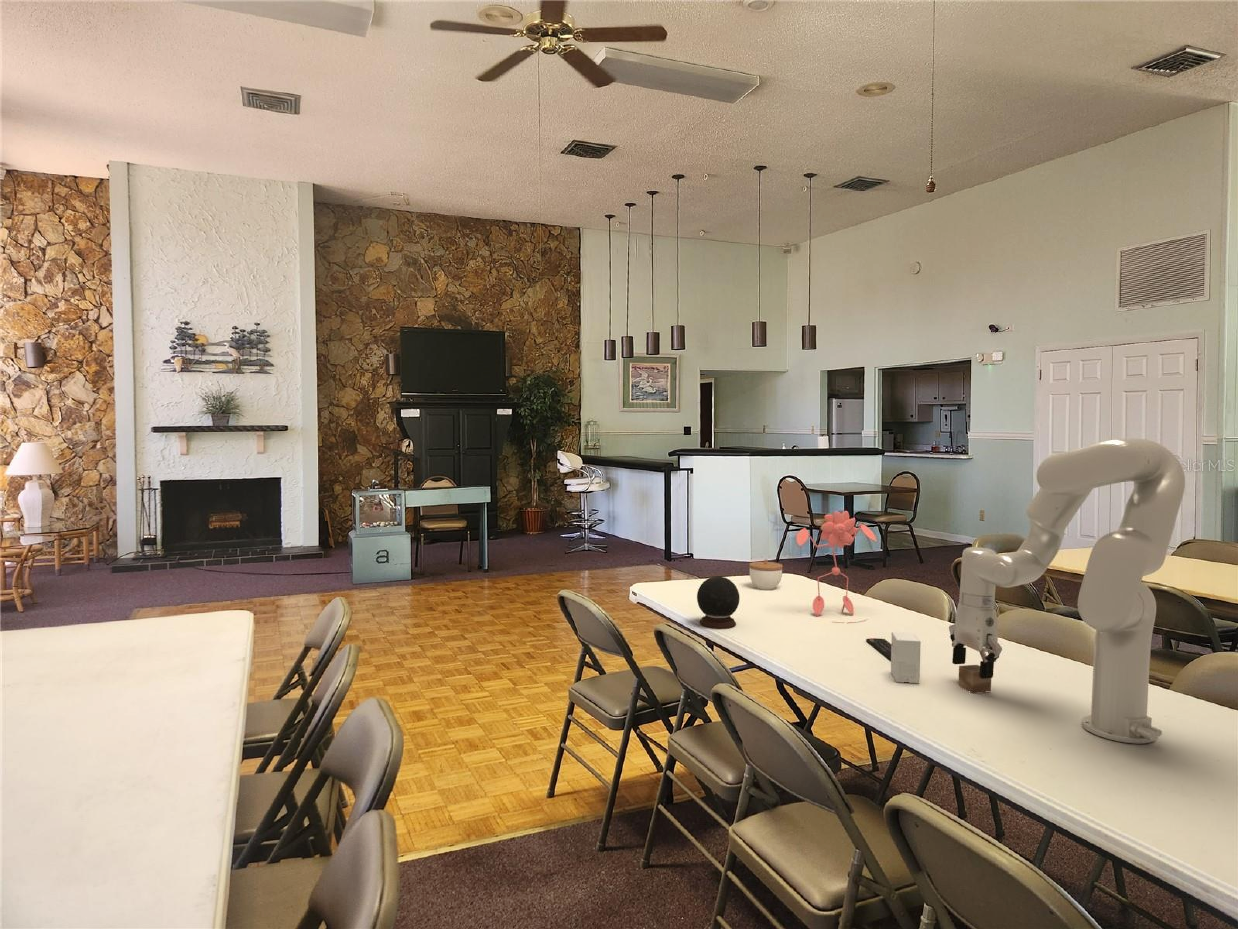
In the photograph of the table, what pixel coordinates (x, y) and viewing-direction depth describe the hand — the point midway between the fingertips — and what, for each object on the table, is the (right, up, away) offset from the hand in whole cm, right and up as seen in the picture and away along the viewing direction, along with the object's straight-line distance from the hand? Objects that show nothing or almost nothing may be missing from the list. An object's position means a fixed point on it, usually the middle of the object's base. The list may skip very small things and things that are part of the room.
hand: (972, 670), depth 180 cm
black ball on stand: (-53, -1, +55) cm, 77 cm away
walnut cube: (0, -4, 0) cm, 4 cm away
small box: (-13, -4, +7) cm, 16 cm away
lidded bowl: (-28, +1, +110) cm, 114 cm away
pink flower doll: (-13, -1, +66) cm, 67 cm away
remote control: (-10, -4, +27) cm, 29 cm away
